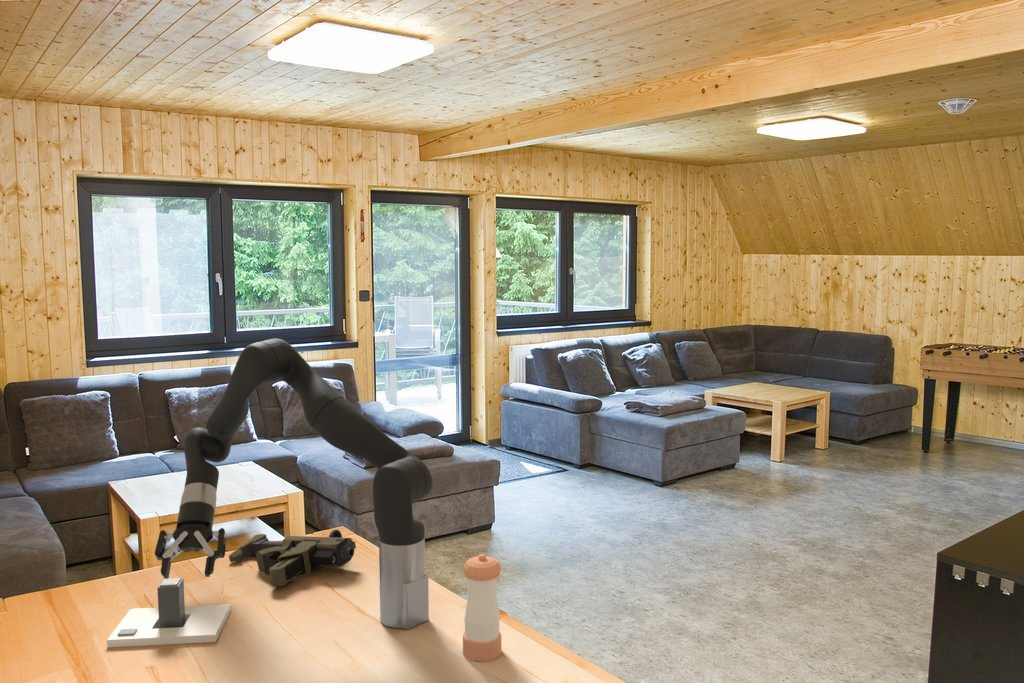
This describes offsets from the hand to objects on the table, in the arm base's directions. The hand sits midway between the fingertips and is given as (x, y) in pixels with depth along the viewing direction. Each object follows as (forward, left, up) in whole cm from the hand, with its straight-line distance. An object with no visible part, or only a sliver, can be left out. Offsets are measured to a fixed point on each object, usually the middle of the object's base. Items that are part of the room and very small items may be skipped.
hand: (186, 576), depth 180 cm
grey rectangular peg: (-9, +8, -6) cm, 13 cm away
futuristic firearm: (0, -26, -7) cm, 27 cm away
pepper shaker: (-62, -25, -6) cm, 68 cm away
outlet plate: (-8, +8, -6) cm, 13 cm away
